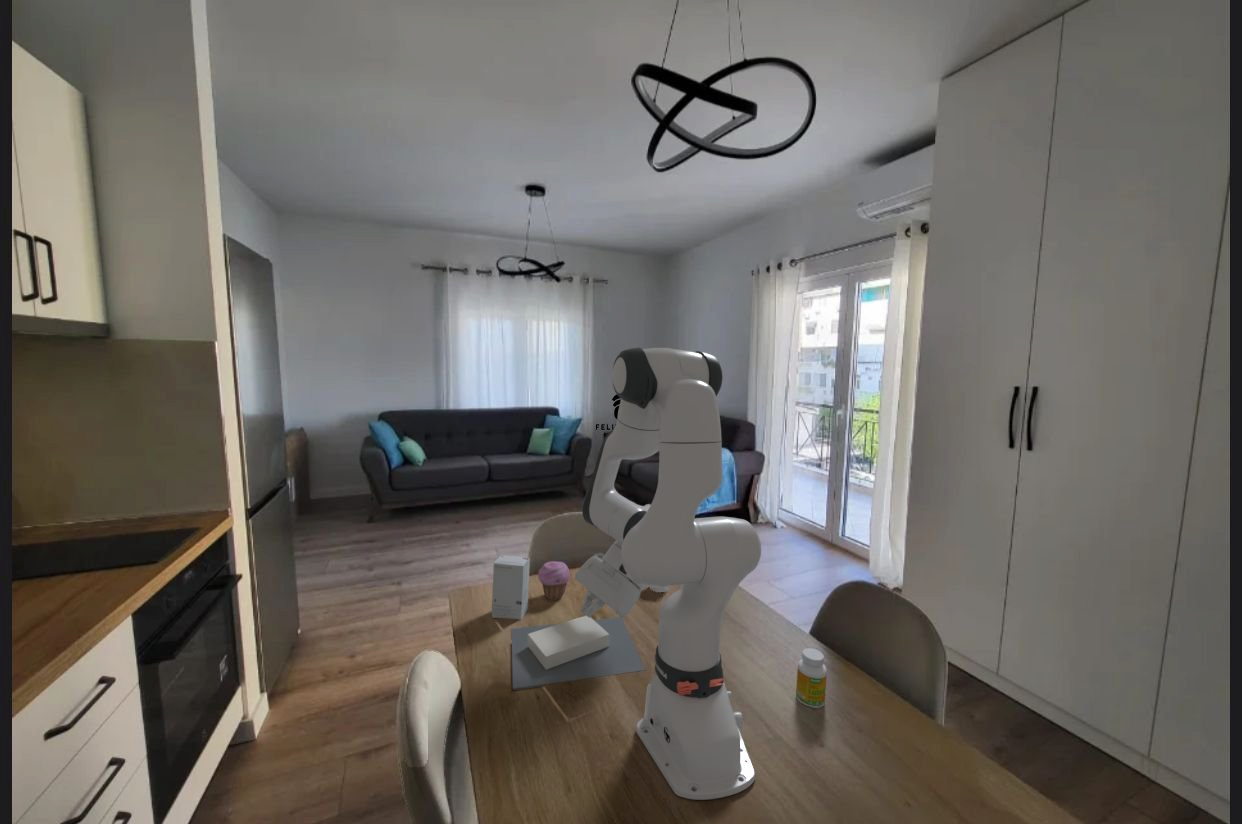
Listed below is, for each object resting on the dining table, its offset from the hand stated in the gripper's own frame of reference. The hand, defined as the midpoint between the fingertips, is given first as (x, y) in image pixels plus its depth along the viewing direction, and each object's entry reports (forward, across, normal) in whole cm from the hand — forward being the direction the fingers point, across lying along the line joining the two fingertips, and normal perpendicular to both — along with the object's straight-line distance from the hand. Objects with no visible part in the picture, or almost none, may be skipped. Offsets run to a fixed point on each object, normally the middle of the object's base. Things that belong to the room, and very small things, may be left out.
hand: (584, 613), depth 112 cm
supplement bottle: (-15, +41, +26) cm, 51 cm away
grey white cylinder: (-18, -12, +28) cm, 36 cm away
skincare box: (+12, -22, -2) cm, 25 cm away
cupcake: (+3, -24, +8) cm, 26 cm away
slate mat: (+8, +1, +3) cm, 8 cm away
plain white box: (+1, 0, +6) cm, 6 cm away
